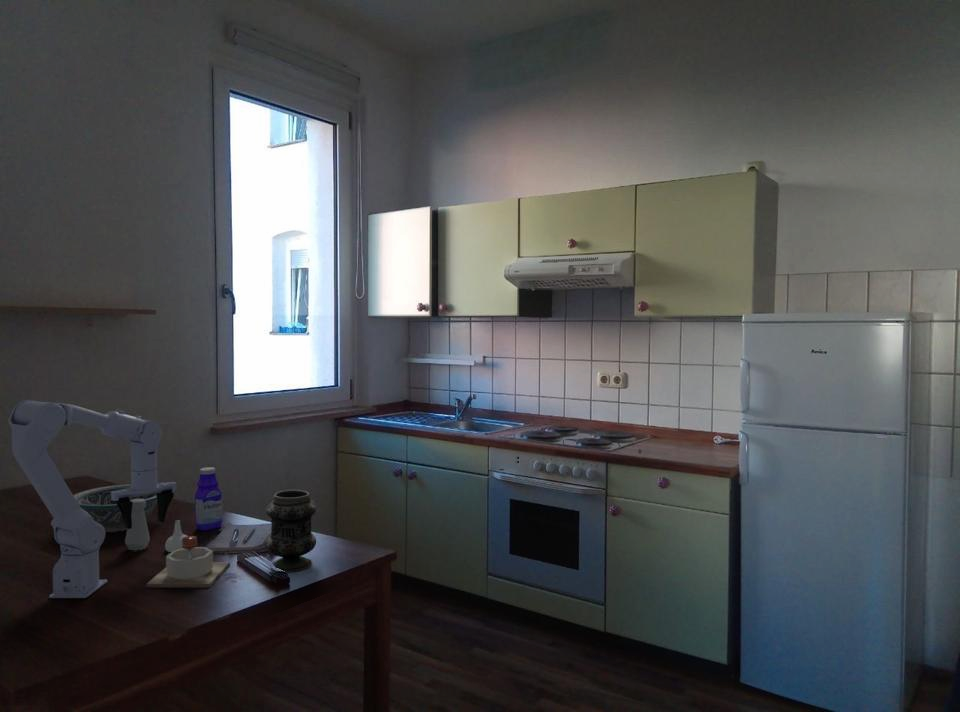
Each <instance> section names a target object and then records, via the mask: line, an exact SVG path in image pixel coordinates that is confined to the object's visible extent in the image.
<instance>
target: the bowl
mask: <svg viewBox="0 0 960 712" xmlns="http://www.w3.org/2000/svg"><path fill="white" fill-rule="evenodd" d="M129 487H131V483H130V484H129V483H127V484H116V485H107V486H100V487H95V488H91V489H90V488H89V489H87V490H83V491H80V492H77V493H74V494H73V496H74V498H75V499H76V501H77V502H78V504H79V506H80V507H81V508H82V509H83V510H84V511H86V512H87V513H88V514H90V515H91V516H92V518H93V519H94V521H96V522H97V523H100V524H101V525H102V526H103V527H104V529H105V533H118V532H117V531H121V532H125V531H124V530H127V528H126V527H125V522H124V519H123V516H122V514H121V511H120V509H119V508H118V506H117V504H116V503H115V501H113V500H111V492H112V491H117V490H121V489H125V488H129ZM129 499H130V500H133V499H144V500H145V501H146V507H145V508H144V513H145V518H146V519H147V518H148V517H149V516H150V515H151V514H152V513H153V511H154V509H155V506H156V505H157V504H158V503H157V496H156V493H154V494H149V495H143V496H137V497H131V498H129Z"/></svg>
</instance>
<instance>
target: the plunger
mask: <svg viewBox="0 0 960 712" xmlns="http://www.w3.org/2000/svg"><path fill="white" fill-rule="evenodd" d="M186 536H187V537H184V538H182V548H184V549H187V555H188V559H192V548H195V547H198V537H197V536H196V535H195V536H194V535H186Z"/></svg>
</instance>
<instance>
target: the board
mask: <svg viewBox="0 0 960 712" xmlns="http://www.w3.org/2000/svg"><path fill="white" fill-rule="evenodd" d="M230 565H231V562H230V561H213V568H212V569H211V572H210V573H209V574H207V575H205V576H202V577H199V578H195V579H188V580H177V579H172V578H170V577H169V575H168V574H166V567H165V568H164V569H162V570H161V571H160V572H158V574H156V575H155V576H154V577H153V578H151V579H150V580H149V581H148V582H147V583H146V588H211V586H212V585H214V583H215V582H216V581H217V580H218V579H219V578H220V577H221V575H222V574H224V572H226V570H227V569H228V568H229V567H230Z"/></svg>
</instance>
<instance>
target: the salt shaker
mask: <svg viewBox="0 0 960 712" xmlns="http://www.w3.org/2000/svg"><path fill="white" fill-rule="evenodd" d="M130 501H131V502H133V505H132V515H131V517H132V528H131V529H127V531H126V535H125V539H124V544H125V545H126V547H127V548H128V551H129V550H134V551H133V552H138V551H137V550H140V551H144V550H145V549H147V548H146V547H148V544H149V542H150V538H151V537H150V533H149V528H148V524H147V523H148V522H147V518H145V513H144V508H145V507H146V501H145V500H144V499H133V500H130ZM143 549H144V550H143Z"/></svg>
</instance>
